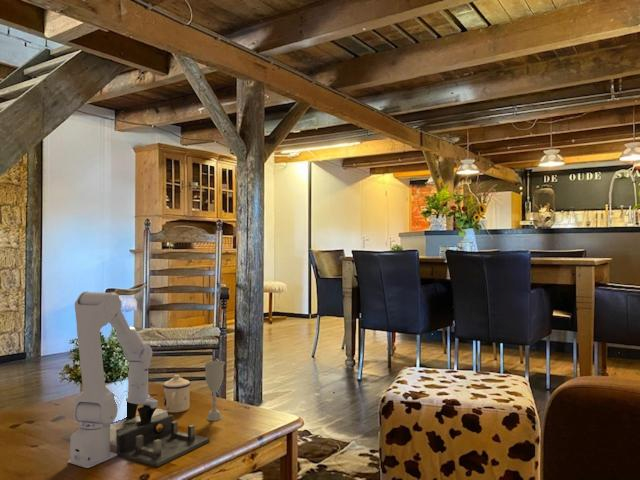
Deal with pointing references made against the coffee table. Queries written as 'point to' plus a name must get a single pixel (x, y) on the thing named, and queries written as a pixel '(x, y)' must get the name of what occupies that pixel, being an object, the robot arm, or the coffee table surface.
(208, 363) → the chalice
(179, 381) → the teacup with lid
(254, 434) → the coffee table surface
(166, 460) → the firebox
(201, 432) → the coffee table surface
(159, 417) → the cream rectangular block
